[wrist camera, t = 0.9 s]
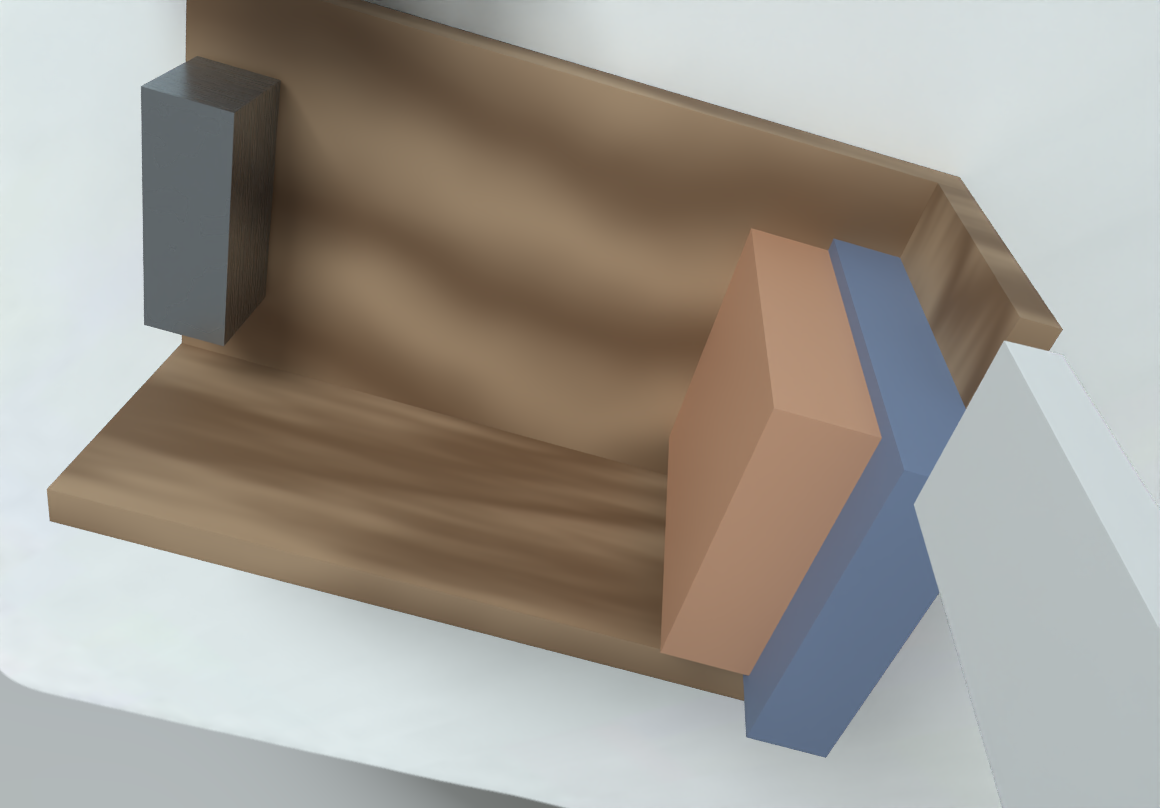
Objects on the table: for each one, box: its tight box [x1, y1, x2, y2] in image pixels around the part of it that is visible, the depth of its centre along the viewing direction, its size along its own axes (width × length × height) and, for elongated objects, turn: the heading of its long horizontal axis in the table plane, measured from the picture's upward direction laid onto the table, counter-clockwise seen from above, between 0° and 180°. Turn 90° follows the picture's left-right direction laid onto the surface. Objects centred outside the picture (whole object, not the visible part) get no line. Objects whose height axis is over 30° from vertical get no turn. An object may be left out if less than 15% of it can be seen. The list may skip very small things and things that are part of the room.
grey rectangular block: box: [141, 56, 281, 346], centre depth 34 cm, size 9×3×4 cm, turn 165°
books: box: [660, 228, 966, 757], centre depth 31 cm, size 11×6×14 cm, turn 165°
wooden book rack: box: [47, 0, 1063, 701], centre depth 33 cm, size 17×28×12 cm, turn 75°
